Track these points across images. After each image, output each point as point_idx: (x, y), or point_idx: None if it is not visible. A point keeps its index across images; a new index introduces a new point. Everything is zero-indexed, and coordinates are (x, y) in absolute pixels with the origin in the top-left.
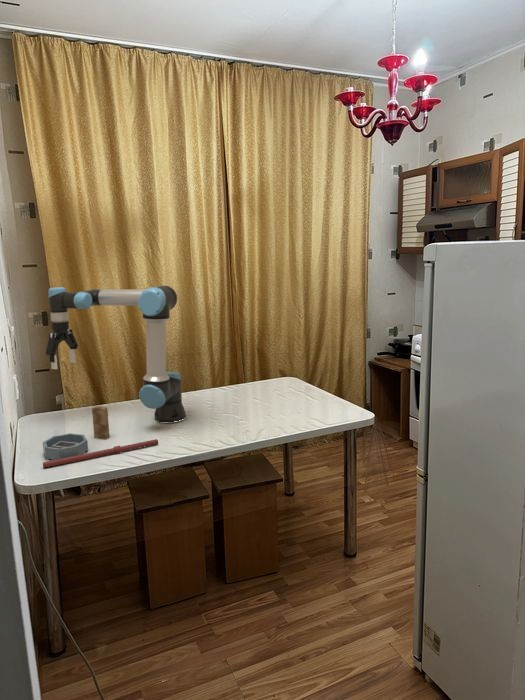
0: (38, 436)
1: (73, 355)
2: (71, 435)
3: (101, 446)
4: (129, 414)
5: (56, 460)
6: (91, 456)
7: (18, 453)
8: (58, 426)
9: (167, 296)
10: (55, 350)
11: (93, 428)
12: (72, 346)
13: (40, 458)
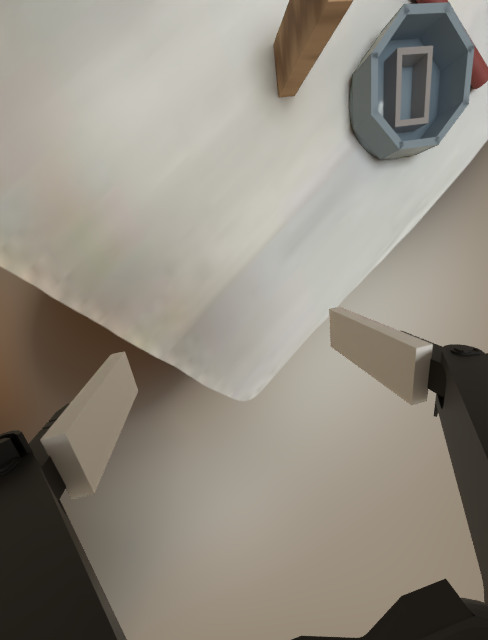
0: (330, 262)
1: (105, 392)
2: (375, 105)
3: None
4: (66, 128)
5: (476, 49)
6: None
7: (418, 219)
8: (262, 272)
9: None
10: (477, 379)
11: (307, 74)
12: (48, 486)
13: None
